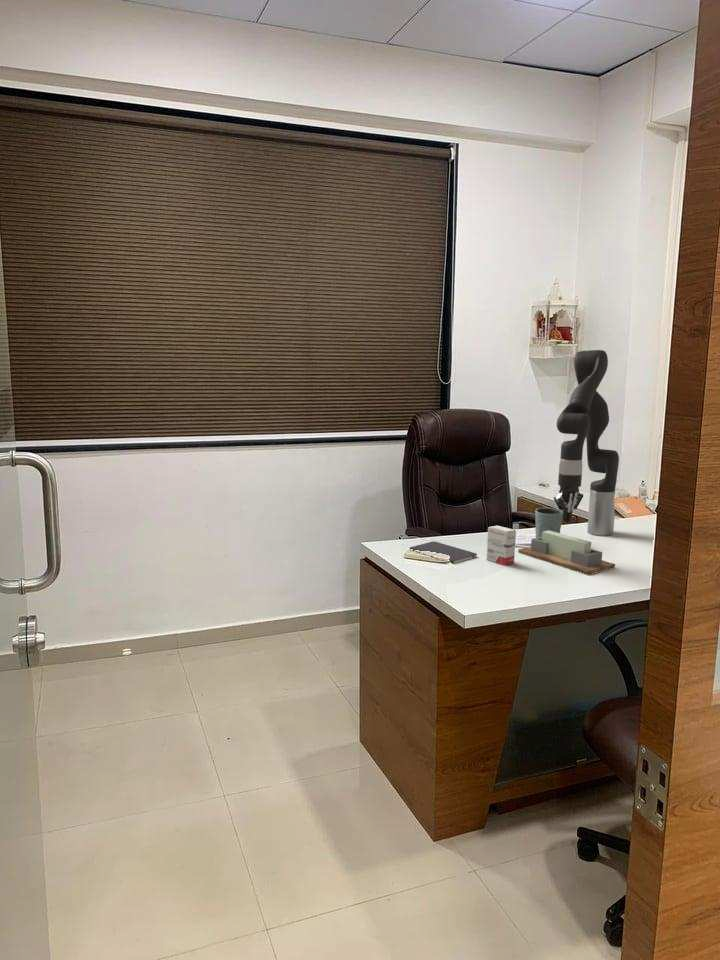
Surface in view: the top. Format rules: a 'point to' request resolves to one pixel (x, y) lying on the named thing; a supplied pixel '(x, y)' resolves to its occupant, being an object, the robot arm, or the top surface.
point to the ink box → (501, 545)
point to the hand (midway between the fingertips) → (567, 522)
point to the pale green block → (565, 544)
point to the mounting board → (566, 561)
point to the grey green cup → (548, 520)
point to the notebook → (446, 551)
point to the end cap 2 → (586, 558)
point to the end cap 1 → (539, 545)
